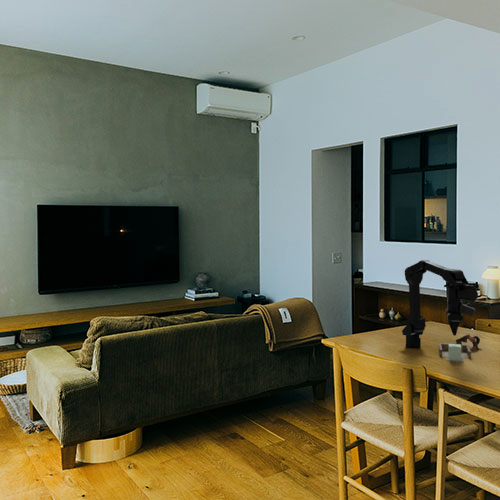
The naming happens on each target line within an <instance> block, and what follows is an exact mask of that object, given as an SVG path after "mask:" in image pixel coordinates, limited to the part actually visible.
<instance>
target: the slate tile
mask: <svg viewBox="0 0 500 500" xmlns="http://www.w3.org/2000/svg"><path fill="white" fill-rule="evenodd" d="M445 360H446V362H455V363H456V362H457V363H464V361H465V360H464V358H462V357H461V361H457V360H449V358H448V357H447V356H446V357H445Z"/></svg>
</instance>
